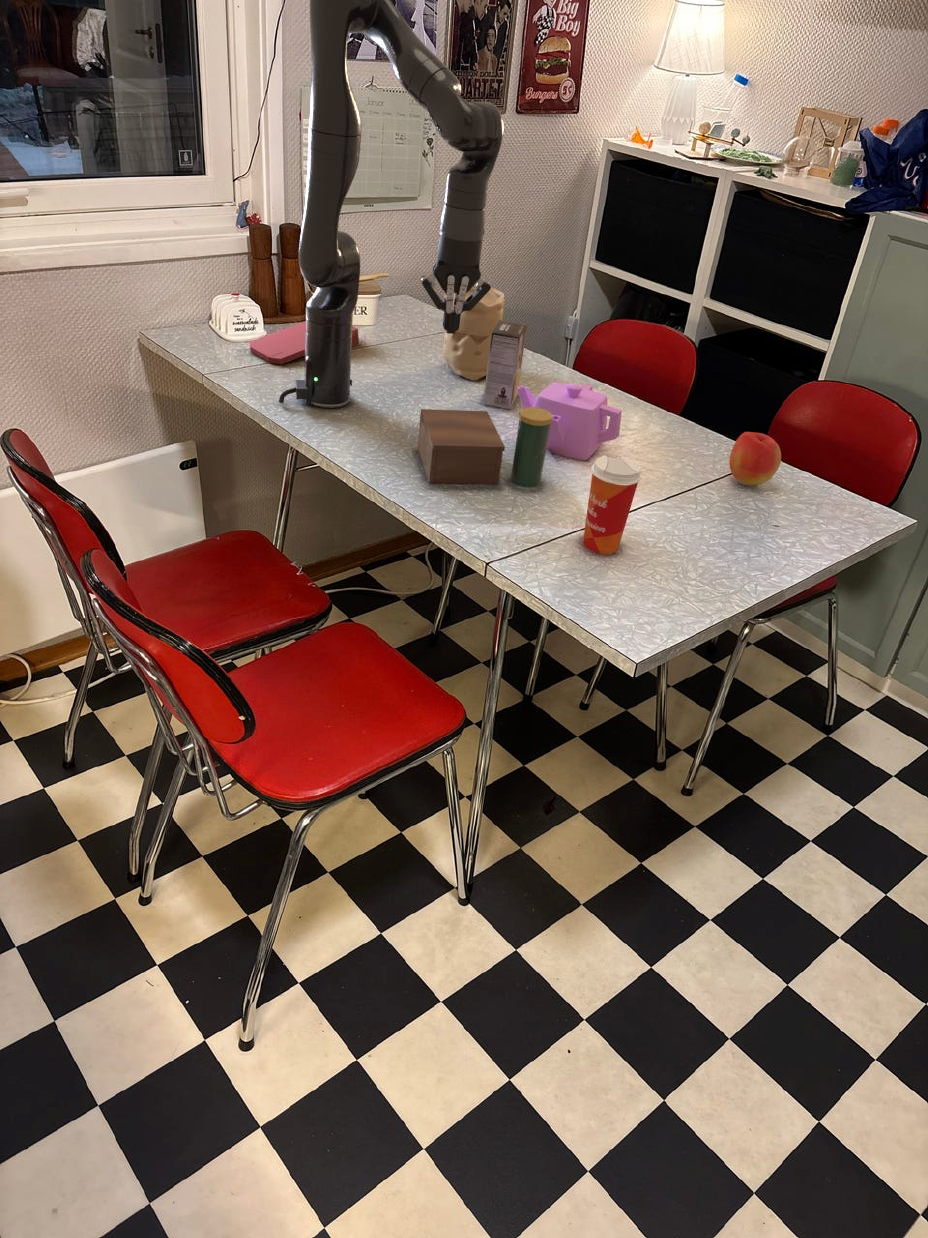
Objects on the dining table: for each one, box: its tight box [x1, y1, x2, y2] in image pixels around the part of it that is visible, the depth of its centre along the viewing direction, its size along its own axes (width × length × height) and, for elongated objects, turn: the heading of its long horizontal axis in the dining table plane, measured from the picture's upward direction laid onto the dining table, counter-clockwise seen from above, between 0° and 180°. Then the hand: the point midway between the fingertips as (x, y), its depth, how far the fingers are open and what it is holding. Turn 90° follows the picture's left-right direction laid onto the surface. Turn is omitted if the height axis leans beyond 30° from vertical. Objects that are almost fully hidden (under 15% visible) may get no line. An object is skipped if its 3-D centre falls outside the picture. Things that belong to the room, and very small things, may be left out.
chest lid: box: [420, 408, 506, 452], centre depth 173 cm, size 16×13×1 cm
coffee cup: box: [582, 454, 643, 555], centre depth 156 cm, size 8×8×15 cm
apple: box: [728, 431, 782, 487], centre depth 184 cm, size 10×10×10 cm
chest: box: [417, 413, 504, 486], centre depth 176 cm, size 15×13×8 cm
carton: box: [248, 320, 360, 365], centre depth 221 cm, size 12×5×25 cm
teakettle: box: [517, 381, 623, 461], centre depth 190 cm, size 17×17×12 cm
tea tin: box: [510, 407, 553, 488], centre depth 172 cm, size 6×6×14 cm
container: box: [442, 284, 505, 381], centre depth 216 cm, size 13×13×18 cm
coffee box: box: [483, 320, 528, 410], centre depth 204 cm, size 9×6×16 cm
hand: (450, 332), depth 173 cm, fingers closed
